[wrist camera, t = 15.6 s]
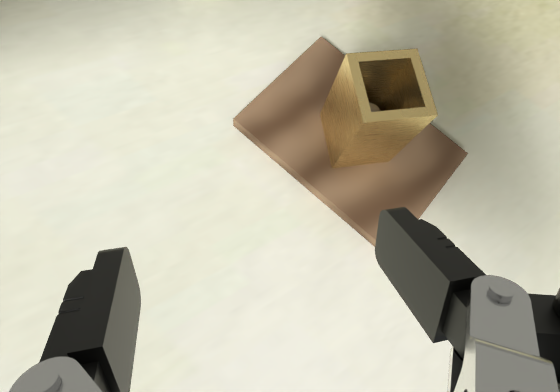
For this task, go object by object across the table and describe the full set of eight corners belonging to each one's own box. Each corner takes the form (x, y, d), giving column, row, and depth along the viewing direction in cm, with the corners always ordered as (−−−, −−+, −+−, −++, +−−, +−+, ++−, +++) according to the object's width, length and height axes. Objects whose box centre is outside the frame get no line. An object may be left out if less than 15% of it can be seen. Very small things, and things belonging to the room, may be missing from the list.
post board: (233, 125, 38) (233, 88, 32) (318, 45, 42) (333, -2, 36) (385, 256, 36) (418, 244, 30) (459, 158, 40) (502, 130, 34)
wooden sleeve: (331, 168, 37) (363, 122, 28) (319, 113, 38) (346, 53, 29) (389, 161, 38) (437, 115, 29) (375, 108, 39) (417, 48, 30)
